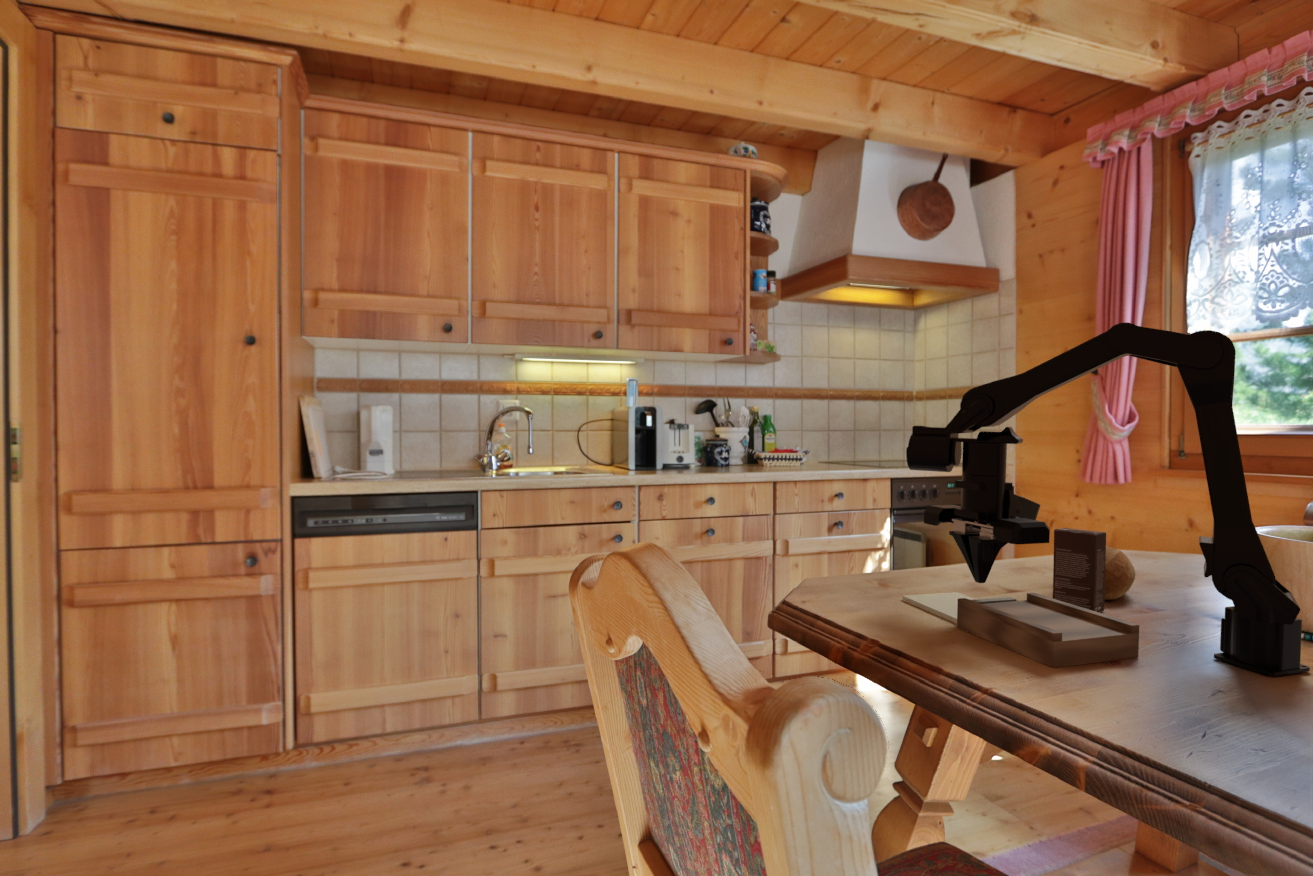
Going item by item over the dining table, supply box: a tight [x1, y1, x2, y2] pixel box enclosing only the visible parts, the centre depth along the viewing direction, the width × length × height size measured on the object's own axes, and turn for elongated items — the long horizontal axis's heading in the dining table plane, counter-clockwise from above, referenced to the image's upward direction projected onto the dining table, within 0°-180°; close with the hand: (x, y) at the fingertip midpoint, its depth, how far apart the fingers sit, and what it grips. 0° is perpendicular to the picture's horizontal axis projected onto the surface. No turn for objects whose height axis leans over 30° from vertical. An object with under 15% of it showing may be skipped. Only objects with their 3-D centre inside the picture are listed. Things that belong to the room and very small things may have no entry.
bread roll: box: [1105, 545, 1136, 601], centre depth 117 cm, size 10×15×8 cm, turn 153°
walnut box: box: [956, 592, 1140, 668], centre depth 91 cm, size 16×13×4 cm
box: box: [1052, 527, 1107, 613], centre depth 107 cm, size 6×4×12 cm
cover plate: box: [901, 591, 1018, 625], centre depth 106 cm, size 14×10×4 cm
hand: (980, 582), depth 102 cm, fingers closed
